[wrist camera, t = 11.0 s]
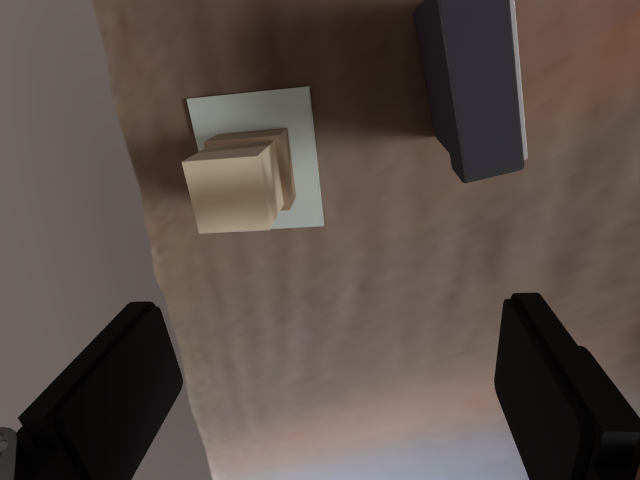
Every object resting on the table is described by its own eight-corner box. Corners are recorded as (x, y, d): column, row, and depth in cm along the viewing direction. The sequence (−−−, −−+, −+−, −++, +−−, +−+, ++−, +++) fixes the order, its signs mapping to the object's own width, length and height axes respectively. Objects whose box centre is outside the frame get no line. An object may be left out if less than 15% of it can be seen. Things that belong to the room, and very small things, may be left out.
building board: (189, 98, 38) (186, 99, 37) (309, 86, 36) (308, 86, 36) (218, 229, 44) (216, 231, 43) (323, 223, 42) (323, 226, 42)
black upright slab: (475, 126, 36) (539, 168, 23) (428, 139, 37) (464, 186, 24) (457, -5, 32) (523, -50, 19) (405, 13, 33) (432, -17, 20)
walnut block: (218, 133, 39) (203, 141, 35) (287, 127, 38) (279, 135, 34) (232, 200, 41) (219, 214, 38) (296, 196, 40) (289, 210, 37)
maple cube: (210, 145, 35) (181, 161, 30) (274, 140, 34) (257, 156, 29) (223, 208, 38) (199, 233, 32) (283, 204, 37) (269, 230, 31)
